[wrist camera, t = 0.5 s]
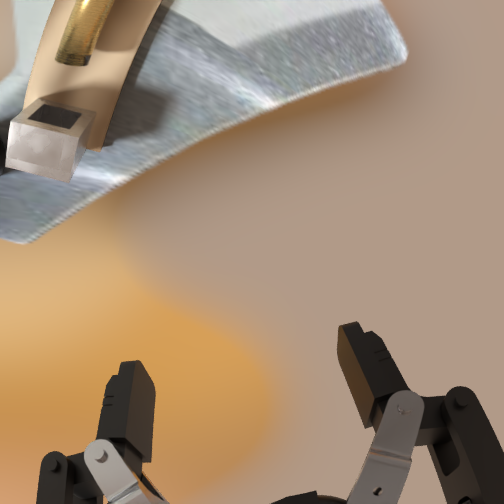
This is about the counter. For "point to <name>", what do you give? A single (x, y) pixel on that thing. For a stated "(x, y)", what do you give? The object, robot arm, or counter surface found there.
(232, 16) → the counter surface
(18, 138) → the sleeve socket
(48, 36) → the base board
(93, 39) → the tube
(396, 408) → the robot arm
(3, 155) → the supplement bottle
